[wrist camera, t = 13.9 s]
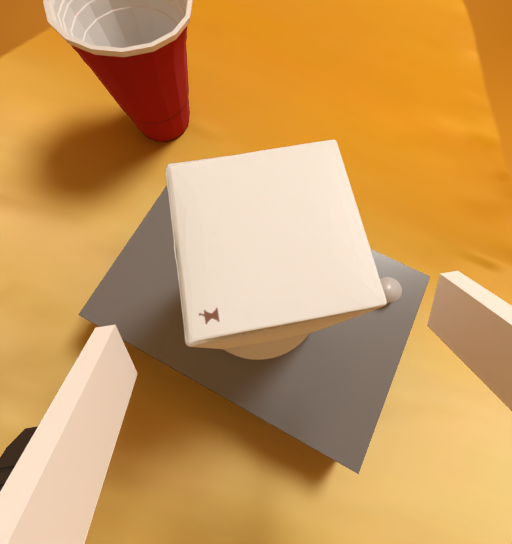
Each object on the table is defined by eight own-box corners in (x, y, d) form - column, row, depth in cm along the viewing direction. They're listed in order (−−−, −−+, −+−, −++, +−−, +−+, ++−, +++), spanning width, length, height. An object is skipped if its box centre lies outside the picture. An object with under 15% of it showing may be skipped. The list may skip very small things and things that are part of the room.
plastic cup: (231, 132, 32) (217, 10, 21) (145, 177, 31) (77, 71, 19) (185, 70, 35) (150, -71, 23) (103, 108, 33) (21, -23, 21)
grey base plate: (104, 319, 26) (70, 313, 22) (192, 185, 30) (180, 154, 25) (341, 453, 24) (363, 480, 19) (405, 286, 27) (437, 273, 23)
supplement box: (317, 333, 22) (395, 312, 10) (221, 350, 21) (177, 351, 9) (297, 245, 24) (341, 133, 12) (209, 259, 23) (158, 160, 11)
